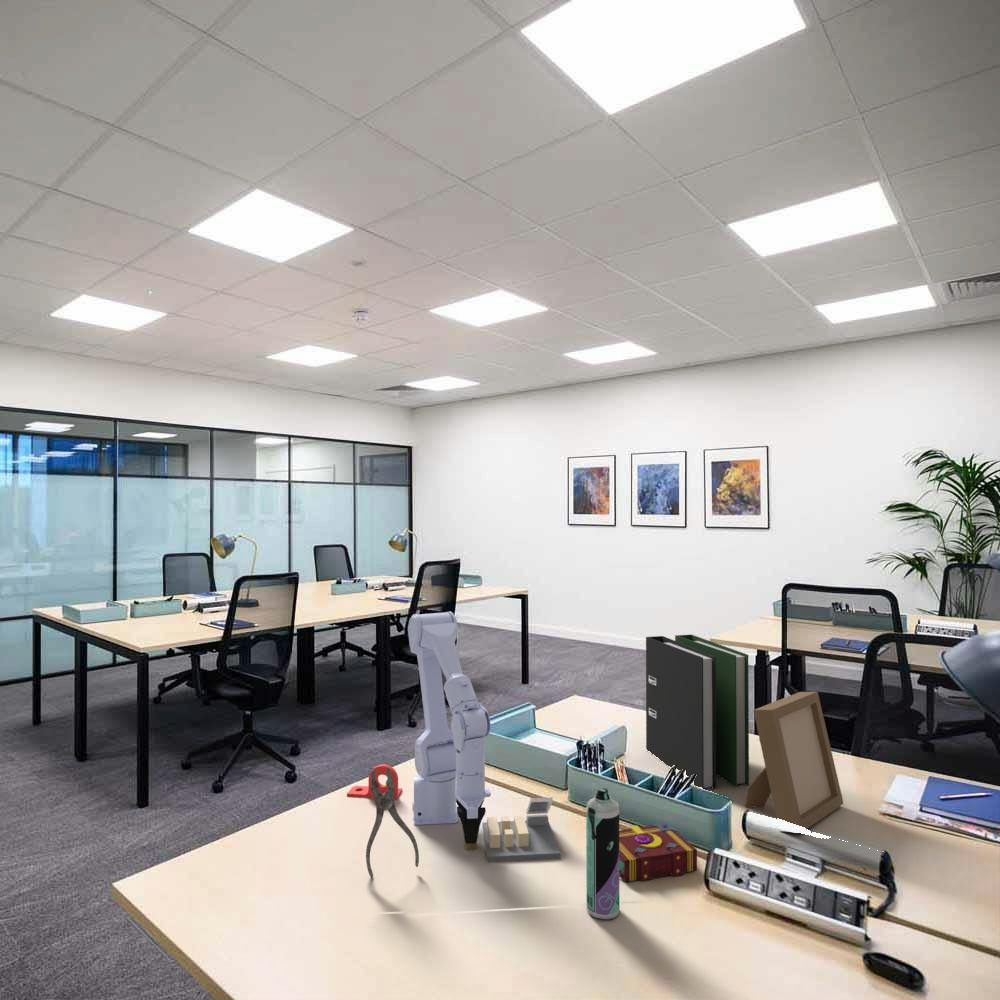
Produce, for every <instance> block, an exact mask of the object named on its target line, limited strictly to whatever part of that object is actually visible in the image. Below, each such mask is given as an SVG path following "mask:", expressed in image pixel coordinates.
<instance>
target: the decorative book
mask: <svg viewBox="0 0 1000 1000" xmlns="http://www.w3.org/2000/svg"><path fill="white" fill-rule="evenodd" d="M697 870H698V849H697V848H696V847H695V846H694V845H692V844H691V842H689V841H688V840H686V839H685V838H684V836H682V835H681V834H680V833H679V832H678V830H677V829H676V828H675V827H674V826H672V825H671V823H669V822H660V823H654V824H650V825H646V826H641V827H639V826H638V825H631V826H629V828H626V829H622V830H621V829H619V877H620V878H621V879H622V881H624V882H625V883H628V882H634V881H640V882H641V883H643V882H649V881H652V878H659V877H664V876H670V875H671V876H672V877H674V878H675V877H680V876H684V873H688V872H694V871H697Z"/></svg>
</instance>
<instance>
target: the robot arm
mask: <svg viewBox="0 0 1000 1000" xmlns="http://www.w3.org/2000/svg"><path fill="white" fill-rule="evenodd" d="M407 633H408V642H409V643H408V644H409V648H410V652H411V653H413V654H414V655H416V657H417V665H418V673H419V681H420V689H421V699H422V706H423V707H422V708H423V715H424V716H423V717H424V725H425V730H424V731H423V733H422V734H421V735H420V736H419V737H418V738H417V740H415V743H414V767H415V770H416V772H417V775H414V778H413V802H412V810H411V811H412V812H413V825H414V826H417V825H420V826H423V825H440V824H441V825H444V824H458V823H459V820H460V823H461V825H462V832H463V840H464V839H465V843H466V844H474V843H476V842H477V843H478V837H479V831H480V826H481V825H482V824H481V823H482V821H483V819H484V817H485V815H486V812H487V811H486V807H483V803H484V802H485V799H486V798H490V797H491V795H492V794H491V790H490V789H486V777H485V776H486V765H485V764H486V756H485V755H486V739H485V737H488V736H489V735H490V732H491V719H490V716H489V715H490V714H489V711H488V710H487V709H486V708H485V707H484V706H483V703H481V702H479V701H478V698H477V695H476V692H475V690H474V687H473V684H472V681H471V679H470V677H469V676H467V675H465V674H463V671H462V667H461V662H460V659H459V654H458V651H457V646H456V639H457V637H458V636H457V635H458V621H457V617H456V615H455V614H454V612H452V611H446V612H434V613H422V614H417V613H413V614H412V615H411V617H410V618H409V621H408V625H407ZM442 674H443V675H444V677H445V680H446V681H445V683H444V685H443V676H442ZM445 696H446V700H447V702H448V705H449V709H450V712H451V715H452V717H451V721H450V727H449V726H448V723H449V722H448V717H447V707H446V700H445ZM443 742H445V743H443ZM437 743H438V744H437ZM439 743H440V744H439ZM431 744H432V745H431Z"/></svg>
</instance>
